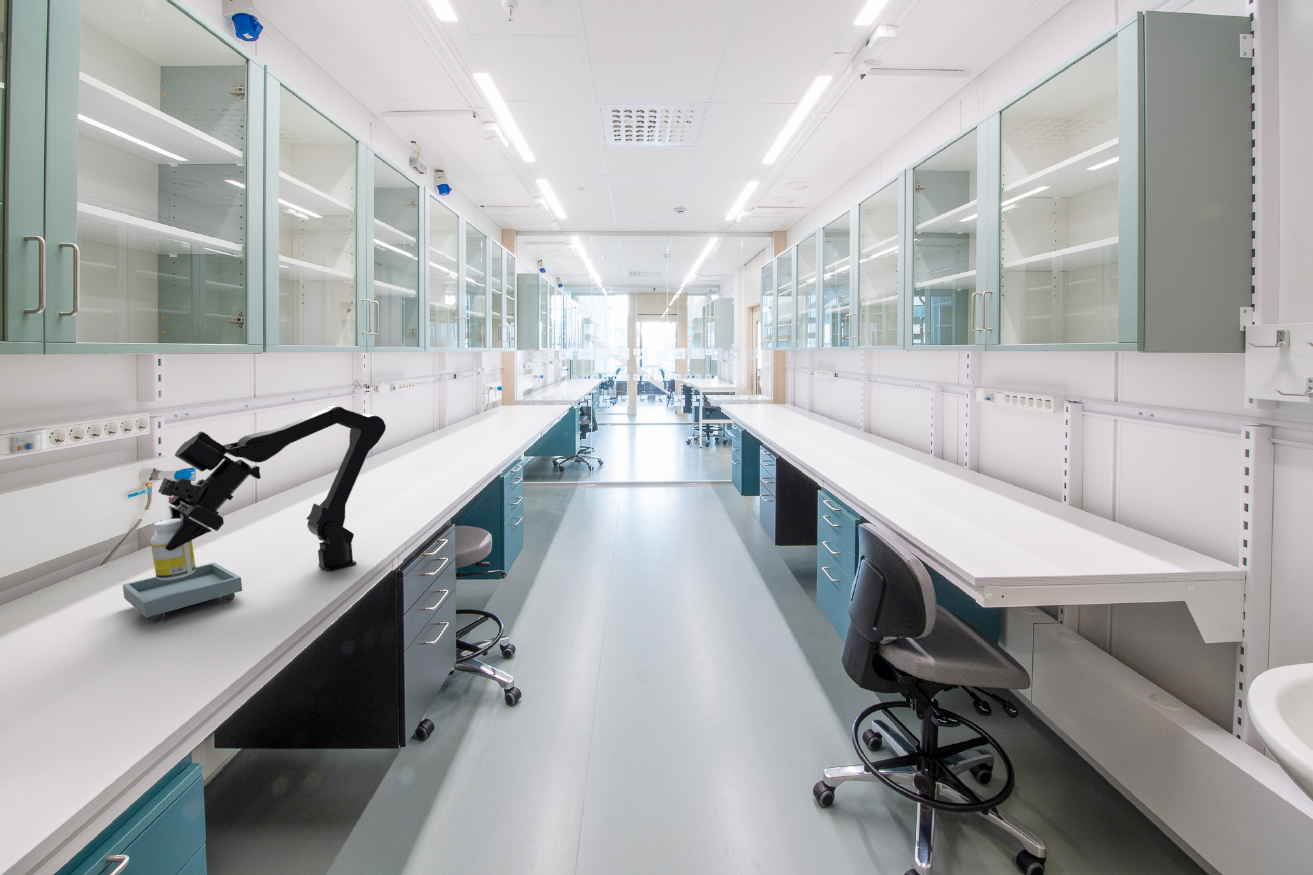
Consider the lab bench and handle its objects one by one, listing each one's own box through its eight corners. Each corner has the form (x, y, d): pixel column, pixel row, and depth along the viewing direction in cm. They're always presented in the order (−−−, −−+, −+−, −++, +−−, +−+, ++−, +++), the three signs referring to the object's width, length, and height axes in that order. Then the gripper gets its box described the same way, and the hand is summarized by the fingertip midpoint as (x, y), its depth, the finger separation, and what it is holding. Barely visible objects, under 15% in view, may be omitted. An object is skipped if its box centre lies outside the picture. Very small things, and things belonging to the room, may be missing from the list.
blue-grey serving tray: (216, 583, 136) (214, 562, 135) (243, 599, 126) (240, 577, 126) (125, 607, 123) (122, 584, 122) (147, 627, 114) (144, 602, 113)
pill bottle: (186, 567, 127) (178, 515, 125) (202, 572, 124) (195, 519, 122) (149, 578, 121) (141, 523, 119) (166, 583, 118) (158, 527, 117)
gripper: (174, 457, 128) (115, 518, 122) (196, 467, 116) (131, 534, 110) (223, 486, 135) (168, 544, 129) (247, 498, 123) (189, 563, 117)
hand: (163, 546), depth 121 cm, fingers closed on pill bottle, 6 cm apart
